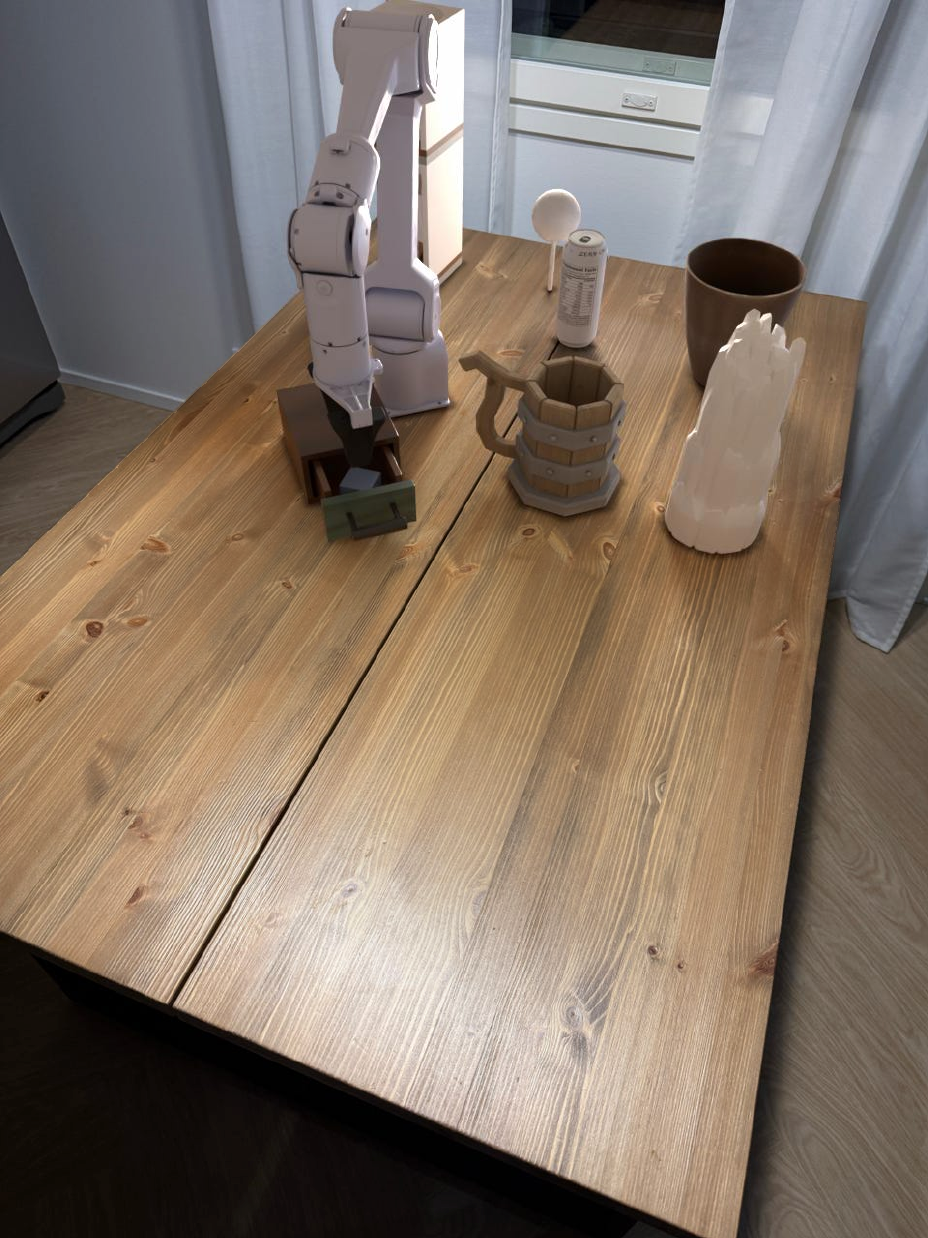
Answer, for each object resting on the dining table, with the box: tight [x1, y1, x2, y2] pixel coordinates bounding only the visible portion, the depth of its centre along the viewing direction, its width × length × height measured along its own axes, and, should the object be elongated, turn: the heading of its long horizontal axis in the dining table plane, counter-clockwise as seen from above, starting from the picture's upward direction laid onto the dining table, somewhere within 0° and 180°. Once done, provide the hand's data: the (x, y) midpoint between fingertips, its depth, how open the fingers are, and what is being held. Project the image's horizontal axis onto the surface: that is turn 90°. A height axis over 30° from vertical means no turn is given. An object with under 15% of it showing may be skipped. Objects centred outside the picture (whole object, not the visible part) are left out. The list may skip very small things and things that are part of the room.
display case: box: [369, 0, 465, 286], centre depth 129 cm, size 11×11×35 cm
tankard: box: [458, 349, 628, 517], centre depth 104 cm, size 20×13×15 cm, turn 65°
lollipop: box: [531, 188, 582, 291], centre depth 133 cm, size 7×7×15 cm
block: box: [339, 467, 381, 495], centre depth 101 cm, size 4×4×4 cm
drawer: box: [308, 444, 417, 542], centre depth 102 cm, size 17×10×5 cm, turn 20°
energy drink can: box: [554, 228, 609, 349], centre depth 124 cm, size 6×6×15 cm
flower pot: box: [683, 237, 808, 387], centre depth 118 cm, size 15×15×16 cm
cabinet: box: [275, 382, 402, 505], centre depth 108 cm, size 14×12×7 cm
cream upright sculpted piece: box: [664, 309, 807, 555], centre depth 95 cm, size 11×11×25 cm
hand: (350, 442), depth 97 cm, fingers open, 7 cm apart
